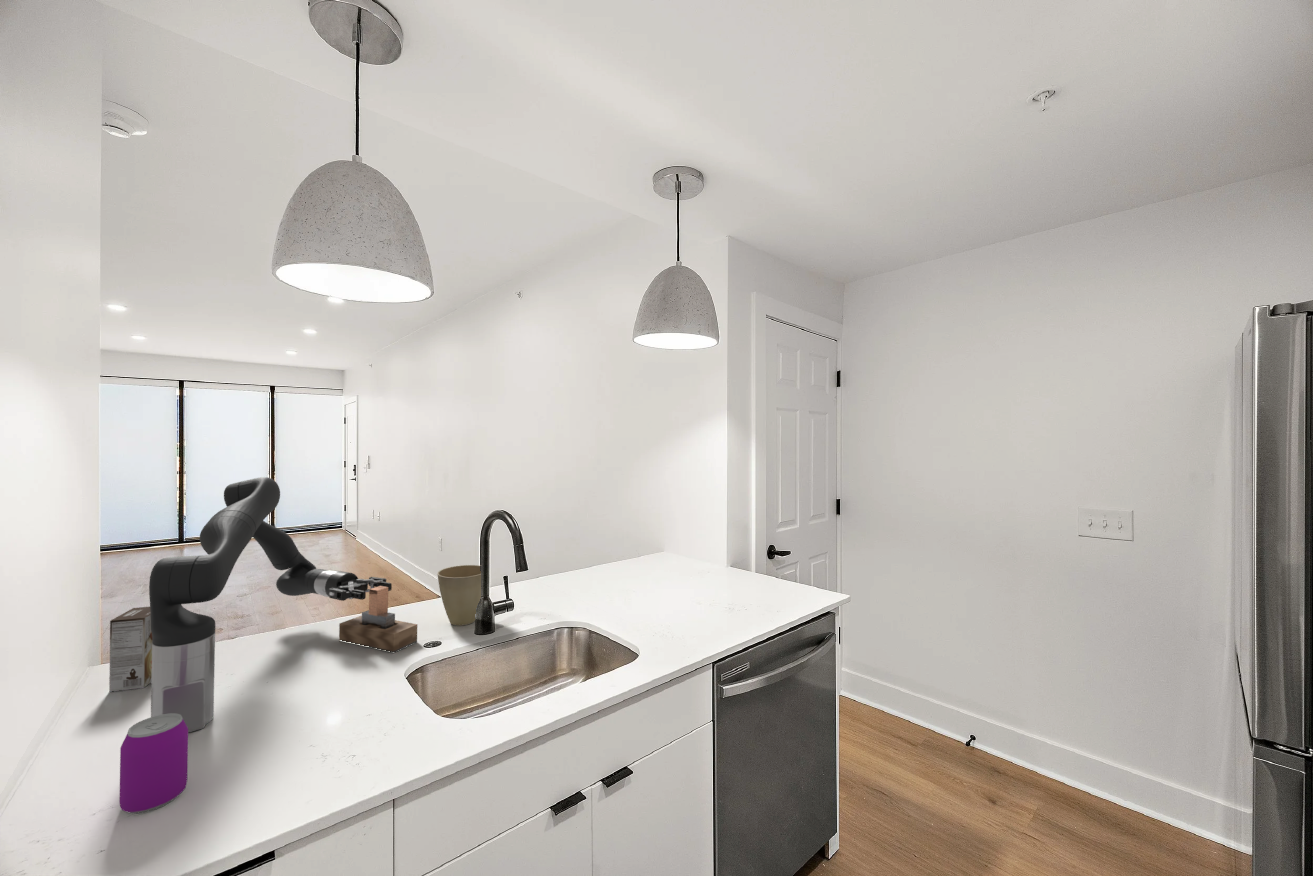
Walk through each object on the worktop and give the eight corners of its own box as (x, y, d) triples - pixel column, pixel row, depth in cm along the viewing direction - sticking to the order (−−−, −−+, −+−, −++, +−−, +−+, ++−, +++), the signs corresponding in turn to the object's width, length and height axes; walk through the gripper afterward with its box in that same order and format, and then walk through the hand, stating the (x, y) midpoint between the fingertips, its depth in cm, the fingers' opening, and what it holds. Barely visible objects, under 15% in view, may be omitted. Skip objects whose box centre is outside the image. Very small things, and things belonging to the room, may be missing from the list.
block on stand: (395, 640, 145) (396, 588, 145) (384, 644, 141) (385, 591, 141) (371, 635, 148) (372, 584, 148) (360, 639, 144) (361, 588, 144)
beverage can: (104, 813, 78) (106, 734, 78) (160, 780, 86) (162, 708, 86) (146, 820, 77) (148, 740, 77) (200, 786, 85) (201, 713, 85)
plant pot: (451, 612, 169) (452, 563, 169) (494, 614, 168) (495, 566, 168) (426, 629, 154) (427, 576, 154) (474, 632, 153) (475, 578, 153)
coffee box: (131, 674, 122) (133, 607, 122) (166, 670, 125) (167, 604, 125) (107, 693, 114) (109, 620, 114) (145, 688, 116) (146, 617, 116)
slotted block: (417, 642, 145) (417, 624, 145) (393, 653, 137) (393, 634, 137) (364, 631, 152) (364, 614, 152) (339, 641, 144) (339, 623, 144)
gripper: (312, 577, 144) (355, 584, 138) (358, 565, 157) (399, 571, 151) (312, 604, 144) (355, 612, 138) (357, 590, 157) (398, 597, 151)
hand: (378, 591), depth 145 cm, fingers open, 8 cm apart
